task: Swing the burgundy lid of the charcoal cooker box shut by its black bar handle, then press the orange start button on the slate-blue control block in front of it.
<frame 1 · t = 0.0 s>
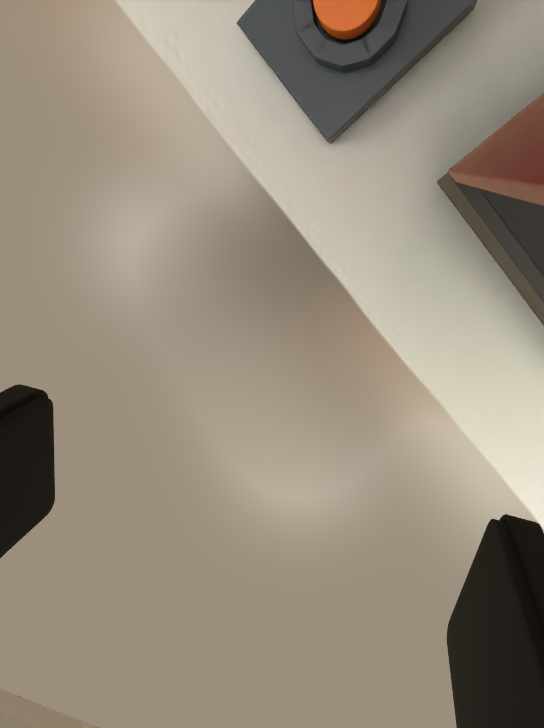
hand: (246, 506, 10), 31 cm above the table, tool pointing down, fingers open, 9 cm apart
control block: (353, 21, 33), on the table
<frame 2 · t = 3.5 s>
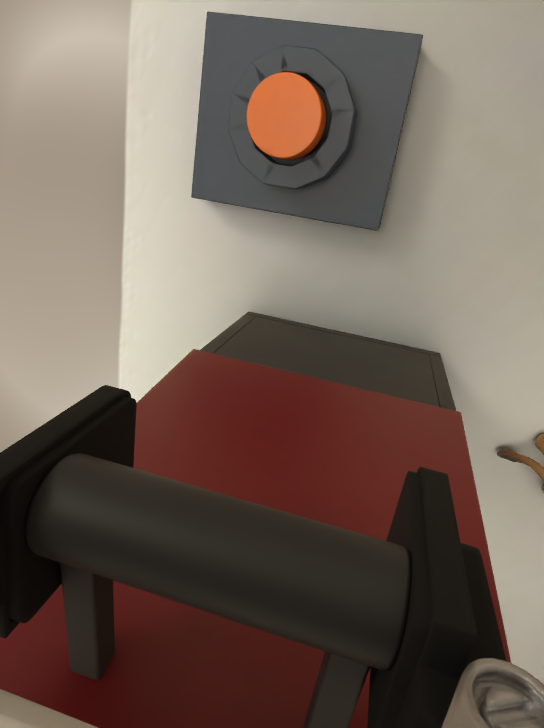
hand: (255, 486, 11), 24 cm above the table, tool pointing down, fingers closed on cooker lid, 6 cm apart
control block: (301, 129, 30), on the table
start button: (286, 118, 25), point 4 cm above the table, slide at 0.1 cm
cooker lid: (289, 434, 15), point 19 cm above the table, hinge at 85.0°, touching gripper
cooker: (318, 434, 36), on the table
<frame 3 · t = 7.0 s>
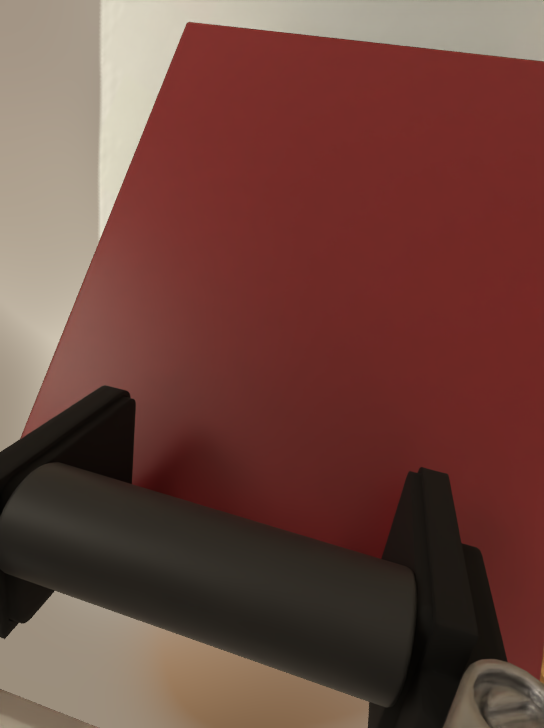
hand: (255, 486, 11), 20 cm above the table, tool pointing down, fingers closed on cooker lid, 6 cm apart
cooker lid: (316, 245, 11), point 18 cm above the table, hinge at 36.2°, touching gripper
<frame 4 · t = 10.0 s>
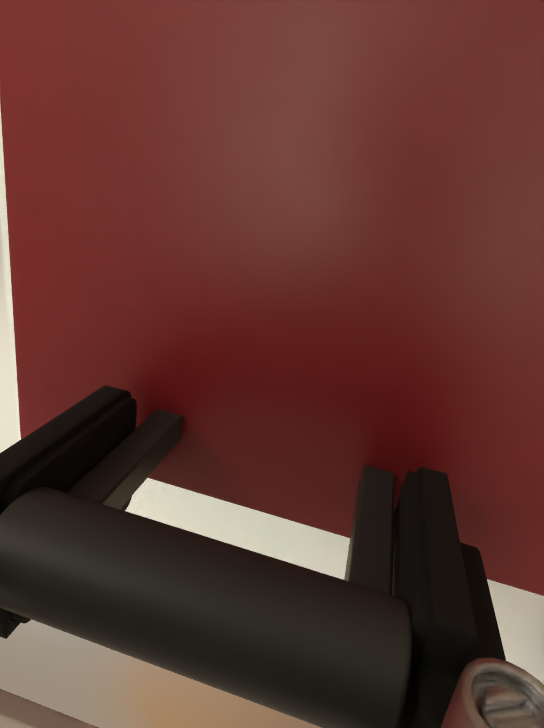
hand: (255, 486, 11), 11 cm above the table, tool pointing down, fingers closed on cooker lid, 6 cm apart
cooker lid: (302, 101, 6), point 13 cm above the table, hinge at -0.2°, touching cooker, gripper
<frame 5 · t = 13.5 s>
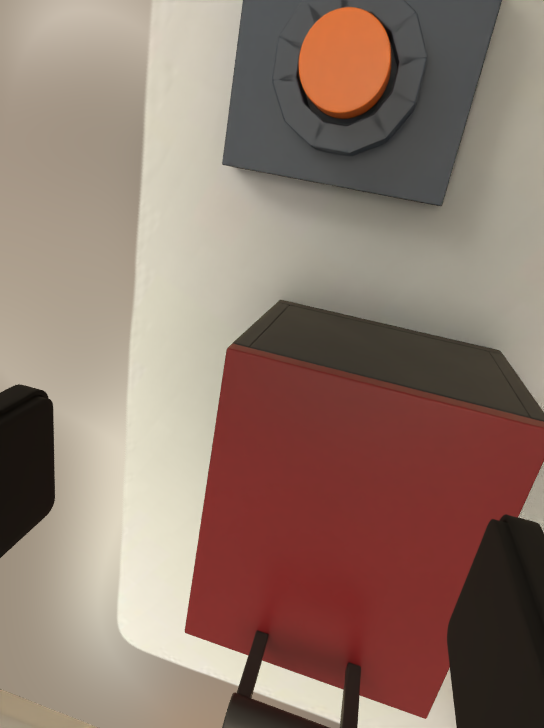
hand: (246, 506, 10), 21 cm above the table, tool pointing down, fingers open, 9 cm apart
control block: (352, 87, 26), on the table
start button: (345, 66, 21), point 4 cm above the table, slide at 0.1 cm
cooker lid: (330, 587, 21), point 13 cm above the table, hinge at -0.2°, touching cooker
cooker: (354, 439, 32), on the table
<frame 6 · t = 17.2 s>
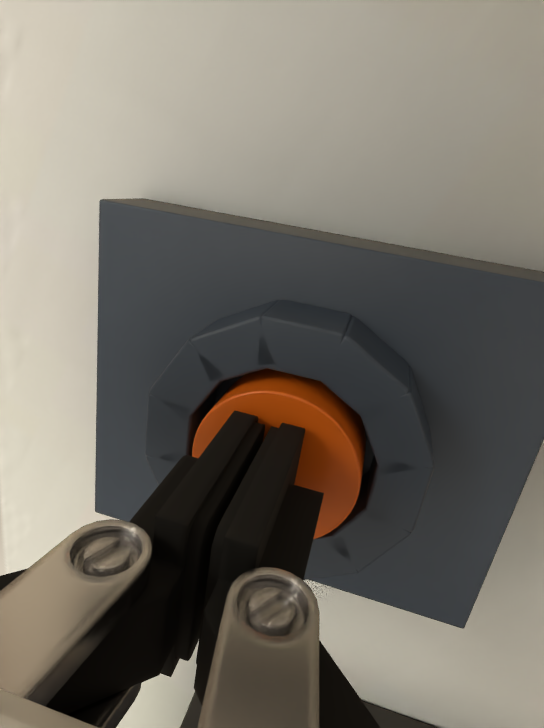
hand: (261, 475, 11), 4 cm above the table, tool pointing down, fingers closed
control block: (307, 396, 15), on the table
start button: (281, 452, 12), point 4 cm above the table, slide at -0.8 cm, touching gripper
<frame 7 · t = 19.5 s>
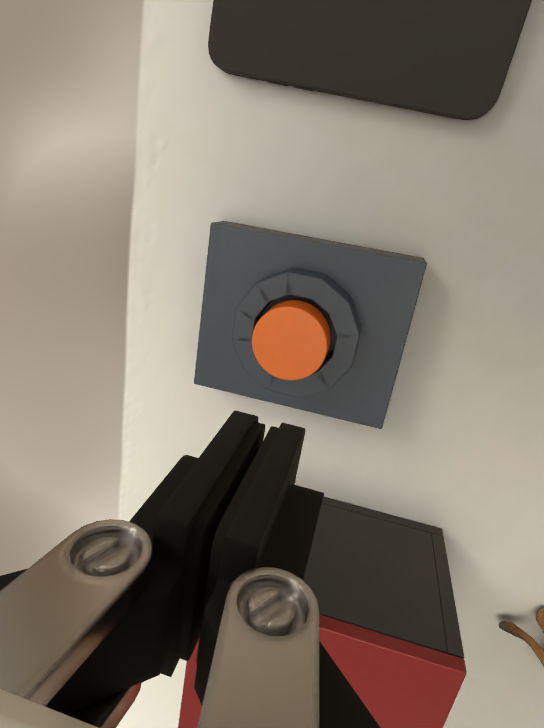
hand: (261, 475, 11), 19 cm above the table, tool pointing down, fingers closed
phone: (362, 16, 24), on the table
control block: (304, 320, 30), on the table
start button: (291, 339, 25), point 4 cm above the table, slide at 0.1 cm
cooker: (320, 591, 36), on the table
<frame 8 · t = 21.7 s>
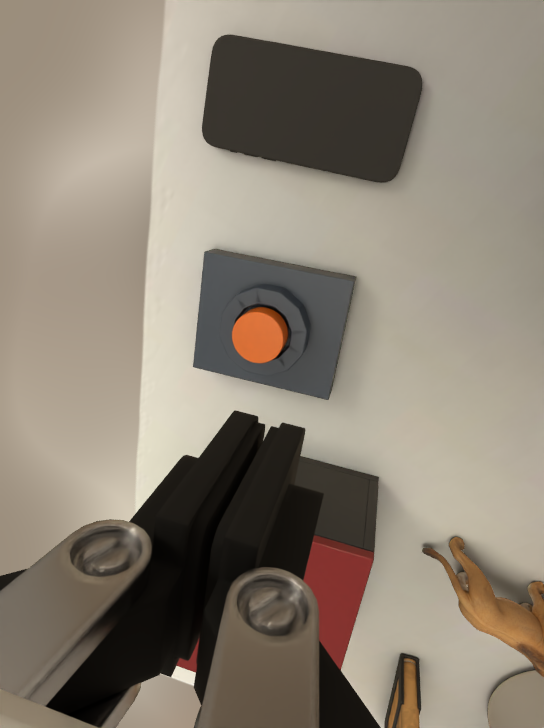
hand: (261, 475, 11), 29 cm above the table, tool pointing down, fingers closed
ammunition clip: (401, 689, 51), on the table
phone: (307, 111, 35), on the table
control block: (273, 320, 40), on the table
start button: (260, 335, 36), point 4 cm above the table, slide at 0.1 cm
cooker lid: (255, 643, 35), point 13 cm above the table, hinge at -0.2°, touching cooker
lion figurine: (505, 576, 43), on the table
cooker: (290, 528, 47), on the table
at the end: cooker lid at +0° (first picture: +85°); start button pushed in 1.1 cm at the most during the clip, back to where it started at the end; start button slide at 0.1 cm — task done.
